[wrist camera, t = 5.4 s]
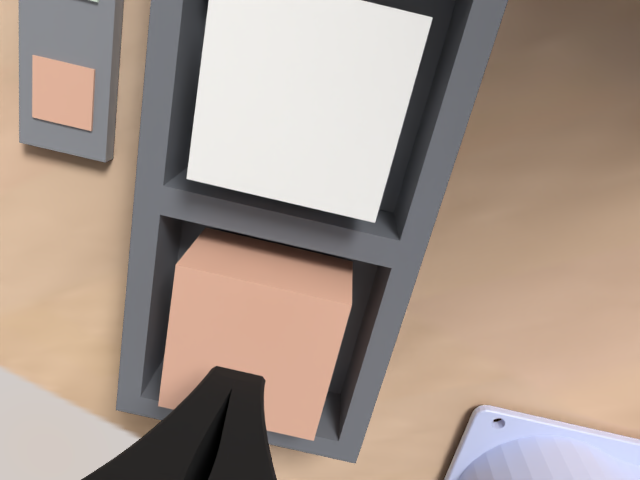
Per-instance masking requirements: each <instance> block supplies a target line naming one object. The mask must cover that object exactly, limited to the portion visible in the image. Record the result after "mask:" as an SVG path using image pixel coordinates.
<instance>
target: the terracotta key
mask: <svg viewBox="0 0 640 480" xmlns="http://www.w3.org/2000/svg"><path fill="white" fill-rule="evenodd" d="M352 273H353V261H349V260H345V259H341V258H336V257H332V256H328V255H323V254H319V253H315V252H310V251H306V250H302V249H297V248H293V247H289V246H284V245H280V244H276V243H271V242H267V241H263V240H258V239H254V238H250V237H245V236H241V235H237V234H232V233H228V232H224V231H219V230H215V229H211V228H205V229H204V230H203V231H202V233H201V234H200V235H199V236H198V238H197V239H196V240H195V241H194V243H193V244H192V245H191V246H190V248H189V249H188V250H187V251H186V253H185V254H184V255H183V256H182V258H181V259H180V260H179V261H178V263H177V264H176V266H175V274H174V282H173V290H172V298H171V306H170V314H169V322H168V330H167V338H166V346H165V354H164V362H163V370H162V378H161V386H160V394H159V402H158V406H160V407H164V408H169V409H173V410H174V409H175V408H176V407H177V406H178V405H179V404H180V403H181V402H182V401H183V400H184V399H185V398H186V397H187V396H188V395H189V394H190V393H191V392H192V391H193V390H194V389H195V388H196V387H197V386H198V384H199V383H200V382H201V381H202V380H203V379H204V377H205V376H206V375H207V374H208V373H209V371H210V370H211V369H212V368H213V367H215V366H220V367H224V368H229V369H233V370H237V371H242V372H246V373H251V374H255V375H260V376H263V378H264V379H265V380H266V382H265V387H264V413H265V423H266V430H267V431H272V432H276V433H281V434H285V435H289V436H294V437H298V438H303V439H307V440H312V441H314V438H315V435H316V431H317V428H318V424H319V421H320V417H321V414H322V410H323V406H324V403H325V399H326V396H327V392H328V389H329V385H330V382H331V378H332V374H333V371H334V367H335V364H336V360H337V357H338V353H339V350H340V346H341V342H342V339H343V335H344V332H345V328H346V325H347V321H348V318H349V314H350V310H351V307H352Z"/></svg>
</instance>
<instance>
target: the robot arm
mask: <svg viewBox="0 0 640 480" xmlns="http://www.w3.org/2000/svg"><path fill="white" fill-rule="evenodd" d="M265 382H266V380H265V379H264V378H263V376H260V375H255V374H251V373H246V372H242V371H237V370H233V369H229V368H224V367H220V366H215V367H213V368H212V369H211V370H210V371H209V373H208V374H207V375H206V376H205V377H204V379H203V380H202V381H201V382H200V383H199V384H198V386H197V387H196V388H195V389H194V390H193V391H192V392H191V393H190V394H189V395H188V396H187V397H186V398H185V399H184V400H183V401H182V402H181V403H180V404H179V405H178V406H177V407H176V408H175V409H174V410H173V411H172V412H171V413H170V414H169V415H168V416H166V417H165V418H164V419H163V420H162V421H161V422H160V423H158V424H157V425H156V426H155V427H154V428H153V429H151V430H150V431H149V432H148V433H147V434H146V435H144V436H143V437H142V438H141V439H139V440H138V441H137V442H136V443H134V444H133V445H132V446H130V447H129V448H128V449H126V450H125V451H124V452H122V453H121V454H119V455H118V456H117V457H115V458H114V459H113V460H111V461H109V462H108V463H106V464H105V465H103V466H102V467H100V468H99V469H97V470H96V471H94V472H93V473H91V474H89V475H88V476H86V477H85V478H83V479H81V480H277V479H276V475H275V471H274V467H273V463H272V458H271V454H270V449H269V443H268V437H267V430H266V423H265V413H264V387H265ZM497 418H501V420H500V421H498V422H493V420H495V419H497ZM444 480H640V439H635V438H631V437H626V436H622V435H617V434H613V433H609V432H604V431H600V430H595V429H591V428H587V427H582V426H578V425H573V424H569V423H565V422H560V421H556V420H551V419H547V418H543V417H538V416H534V415H529V414H525V413H520V412H516V411H512V410H507V409H503V408H498V407H494V406H490V405H482V406H478V407H477V408H475V409H474V411H473V412H472V415H471V417H470V419H469V422H468V424H467V427H466V429H465V431H464V434H463V436H462V438H461V441H460V443H459V445H458V448H457V450H456V452H455V455H454V457H453V460H452V462H451V464H450V467H449V469H448V471H447V474H446V476H445V478H444Z"/></svg>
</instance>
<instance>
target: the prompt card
mask: <svg viewBox="0 0 640 480" xmlns="http://www.w3.org/2000/svg"><path fill="white" fill-rule="evenodd" d="M123 4H124V0H19V143H24V144H28V145H32V146H37V147H41V148H45V149H50V150H54V151H58V152H62V153H67V154H71V155H75V156H80V157H84V158H88V159H93V160H97V161H101V162H107V161H109V160H111V159H113V153H114V138H115V123H116V108H117V93H118V79H119V64H120V49H121V34H122V19H123Z"/></svg>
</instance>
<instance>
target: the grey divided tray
mask: <svg viewBox="0 0 640 480" xmlns="http://www.w3.org/2000/svg"><path fill="white" fill-rule="evenodd" d="M363 1H367V2H371V3H375V4H379V5H383V6H387V7H391V8H396V9H400V10H404V11H408V12H412V13H416V14H420V15H425V16H429V17H433V19H432V22H431V26H430V29H429V33H428V36H427V40H426V44H425V47H424V51H423V54H422V58H421V61H420V65H419V68H418V72H417V76H416V79H415V83H414V86H413V90H412V93H411V97H410V100H409V104H408V108H407V111H406V115H405V118H404V122H403V125H402V129H401V133H400V136H399V140H398V143H397V147H396V150H395V154H394V157H393V161H392V165H391V168H390V172H389V175H388V179H387V182H386V186H385V189H384V193H383V197H382V200H381V204H380V207H379V211H378V214H377V218H376V221H375V223H373V222H369V221H365V220H361V219H356V218H352V217H348V216H343V215H339V214H335V213H330V212H326V211H322V210H318V209H313V208H309V207H305V206H300V205H296V204H292V203H288V202H283V201H279V200H275V199H270V198H266V197H262V196H258V195H253V194H249V193H245V192H240V191H236V190H232V189H227V188H223V187H219V186H215V185H210V184H206V183H202V182H197V181H193V180H189V179H186V178H187V170H188V162H189V154H190V146H191V138H192V130H193V122H194V114H195V106H196V98H197V90H198V82H199V74H200V66H201V58H202V50H203V42H204V34H205V26H206V18H207V10H208V2H209V0H151V7H150V18H149V30H148V42H147V53H146V65H145V77H144V89H143V100H142V112H141V124H140V135H139V147H138V159H137V170H136V182H135V194H134V205H133V217H132V229H131V241H130V252H129V264H128V276H127V287H126V299H125V311H124V322H123V334H122V346H121V357H120V369H119V381H118V392H117V404H116V410H118V411H123V412H127V413H132V414H136V415H141V416H145V417H150V418H154V419H159V420H163V419H164V418H165V417H166V416H168V415H169V414H170V413H171V412H172V411H173V409H169V408H164V407H160V406H158V402H159V394H160V386H161V378H162V370H163V362H164V354H165V346H166V338H167V330H168V322H169V314H170V306H171V298H172V290H173V282H174V274H175V266H176V264H177V263H178V261H179V260H180V259H181V258H182V256H183V255H184V254H185V253H186V251H187V250H188V249H189V248H190V246H191V245H192V244H193V243H194V241H195V240H196V239H197V238H198V236H199V235H200V234H201V233H202V231H203V230H204V229H205V228H211V229H215V230H219V231H224V232H228V233H232V234H237V235H241V236H245V237H250V238H254V239H258V240H263V241H267V242H271V243H276V244H280V245H284V246H289V247H293V248H297V249H302V250H306V251H310V252H315V253H319V254H323V255H328V256H332V257H336V258H341V259H345V260H349V261H353V273H352V307H351V310H350V314H349V318H348V321H347V325H346V328H345V332H344V335H343V339H342V342H341V346H340V350H339V353H338V357H337V360H336V364H335V367H334V371H333V374H332V378H331V382H330V385H329V389H328V392H327V396H326V399H325V403H324V406H323V410H322V414H321V417H320V421H319V424H318V428H317V431H316V435H315V438H314V441H312V440H307V439H303V438H298V437H294V436H289V435H285V434H281V433H276V432H272V431H267V437H268V443H269V444H271V445H275V446H280V447H284V448H288V449H293V450H297V451H302V452H306V453H311V454H315V455H320V456H324V457H329V458H333V459H338V460H342V461H347V462H351V463H356V461H357V458H358V455H359V452H360V449H361V446H362V443H363V440H364V437H365V433H366V430H367V427H368V424H369V421H370V418H371V415H372V412H373V409H374V406H375V403H376V400H377V397H378V394H379V391H380V388H381V385H382V382H383V379H384V376H385V373H386V370H387V367H388V364H389V361H390V357H391V354H392V351H393V348H394V345H395V342H396V339H397V336H398V333H399V330H400V327H401V324H402V321H403V318H404V315H405V312H406V309H407V306H408V303H409V300H410V297H411V294H412V291H413V288H414V285H415V282H416V278H417V275H418V272H419V269H420V266H421V263H422V260H423V257H424V254H425V251H426V248H427V245H428V242H429V239H430V236H431V233H432V230H433V227H434V224H435V221H436V218H437V215H438V212H439V209H440V206H441V203H442V199H443V196H444V193H445V190H446V187H447V184H448V181H449V178H450V175H451V172H452V169H453V166H454V163H455V160H456V157H457V154H458V151H459V148H460V145H461V142H462V139H463V136H464V133H465V130H466V127H467V124H468V120H469V117H470V114H471V111H472V108H473V105H474V102H475V99H476V96H477V93H478V90H479V87H480V84H481V81H482V78H483V75H484V72H485V69H486V66H487V63H488V60H489V57H490V54H491V51H492V48H493V44H494V41H495V38H496V35H497V32H498V29H499V26H500V23H501V20H502V17H503V14H504V11H505V8H506V5H507V2H508V0H363Z"/></svg>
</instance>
